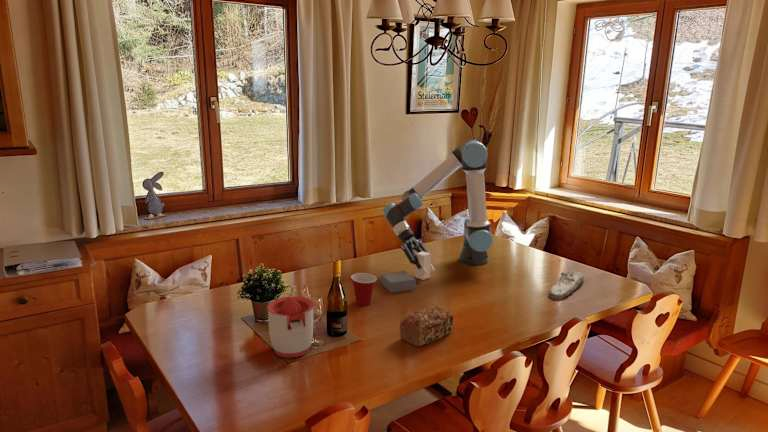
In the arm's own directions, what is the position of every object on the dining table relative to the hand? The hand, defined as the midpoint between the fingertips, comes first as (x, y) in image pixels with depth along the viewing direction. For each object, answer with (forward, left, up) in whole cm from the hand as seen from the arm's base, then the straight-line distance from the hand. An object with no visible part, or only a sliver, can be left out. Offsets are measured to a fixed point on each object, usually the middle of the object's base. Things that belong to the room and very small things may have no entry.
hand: (428, 272), depth 252 cm
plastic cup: (+37, +20, -4) cm, 42 cm away
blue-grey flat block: (+17, +5, -4) cm, 18 cm away
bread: (+22, +54, -4) cm, 59 cm away
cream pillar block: (+2, -3, -3) cm, 5 cm away
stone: (-58, +26, -4) cm, 64 cm away
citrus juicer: (+71, +54, -4) cm, 89 cm away
